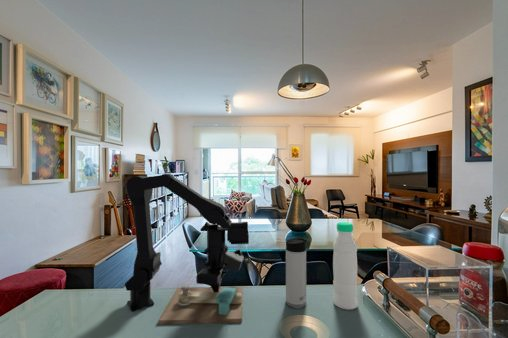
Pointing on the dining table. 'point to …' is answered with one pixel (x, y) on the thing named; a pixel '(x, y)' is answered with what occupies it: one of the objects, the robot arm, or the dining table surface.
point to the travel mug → (296, 272)
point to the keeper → (222, 300)
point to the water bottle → (345, 268)
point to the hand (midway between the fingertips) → (216, 293)
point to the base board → (199, 310)
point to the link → (203, 296)
